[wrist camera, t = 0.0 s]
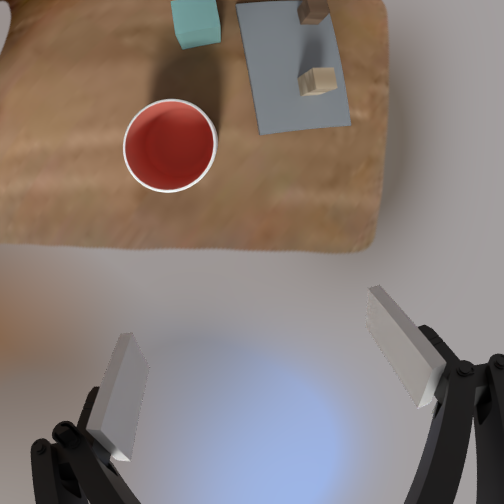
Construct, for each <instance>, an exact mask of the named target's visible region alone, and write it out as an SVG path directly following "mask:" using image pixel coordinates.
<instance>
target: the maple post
mask: <svg viewBox="0 0 504 504" xmlns="http://www.w3.org/2000/svg"><path fill="white" fill-rule="evenodd" d="M297 80H298V85H299V91H300V96H310V95H320V94H323V93H325V92H328V91H331V90H334V89H337V88H338V87H337V82H336V76H335V71H334V67H330V68H312V69H310V70H309V71H307V72H306V73H304V74H303V75H301V76H300V77H299V78H297Z"/></svg>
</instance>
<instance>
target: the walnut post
mask: <svg viewBox="0 0 504 504" xmlns="http://www.w3.org/2000/svg"><path fill="white" fill-rule="evenodd" d="M297 12H298V17H299V21H300V25H318V24H319V23H320V22H321V21H322V20H323V19H324V18H325V17H326V16H327V15H328V14H329V13H330V11H329V7H328V4H327V0H303V2H302V3H301V5H300V6H299V7H298V9H297Z"/></svg>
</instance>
